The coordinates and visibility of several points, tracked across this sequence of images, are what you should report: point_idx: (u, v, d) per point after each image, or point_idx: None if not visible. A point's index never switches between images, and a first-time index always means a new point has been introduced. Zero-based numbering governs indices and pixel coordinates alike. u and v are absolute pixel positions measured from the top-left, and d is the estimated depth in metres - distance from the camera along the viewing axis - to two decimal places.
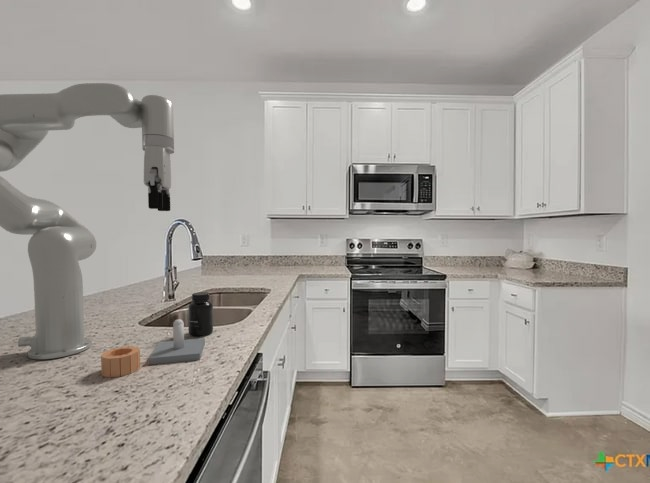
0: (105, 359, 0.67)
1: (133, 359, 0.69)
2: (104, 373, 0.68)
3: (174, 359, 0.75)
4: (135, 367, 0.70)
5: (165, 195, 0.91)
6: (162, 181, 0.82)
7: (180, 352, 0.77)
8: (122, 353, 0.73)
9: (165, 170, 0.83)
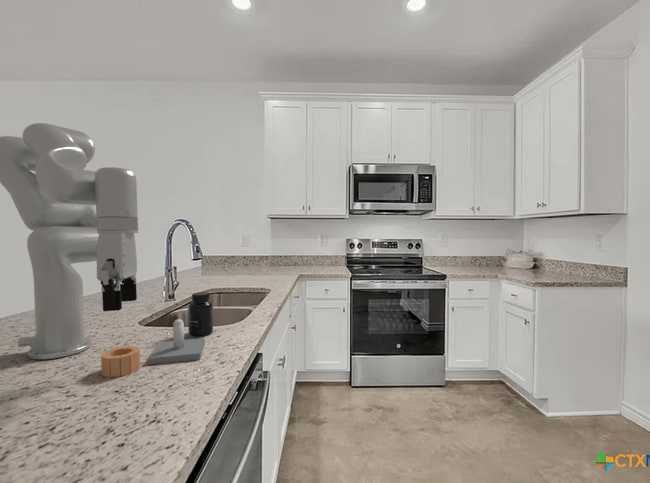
0: (105, 359, 0.67)
1: (133, 359, 0.69)
2: (104, 373, 0.68)
3: (174, 359, 0.75)
4: (135, 367, 0.70)
5: (130, 282, 0.74)
6: (120, 275, 0.66)
7: (180, 352, 0.77)
8: (122, 353, 0.73)
9: (124, 260, 0.67)
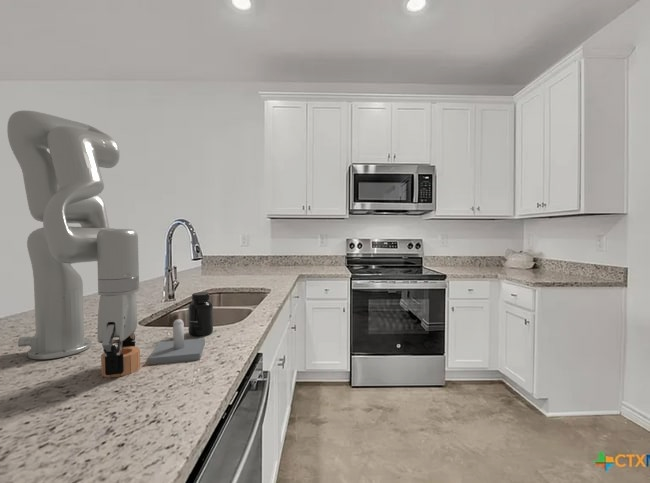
0: None
1: (133, 359, 0.69)
2: (104, 373, 0.68)
3: (174, 359, 0.75)
4: (135, 367, 0.70)
5: (128, 340, 0.74)
6: (121, 338, 0.66)
7: (180, 352, 0.77)
8: (122, 353, 0.73)
9: (125, 321, 0.67)
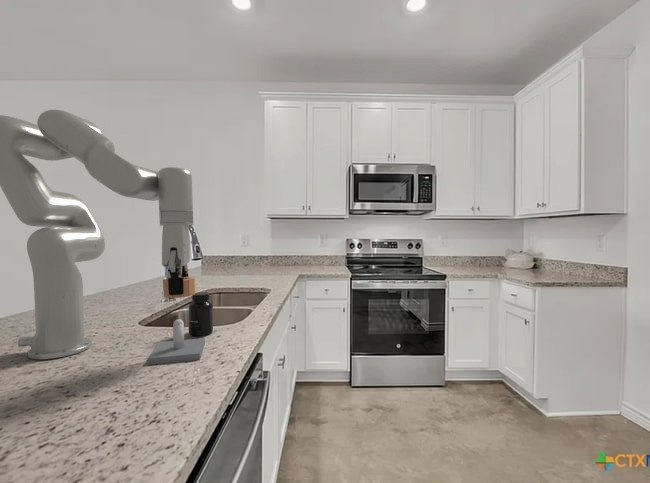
0: None
1: (190, 284, 0.78)
2: (167, 295, 0.76)
3: (174, 359, 0.75)
4: (192, 291, 0.79)
5: (183, 272, 0.83)
6: (182, 262, 0.75)
7: (180, 352, 0.77)
8: None
9: (184, 248, 0.76)
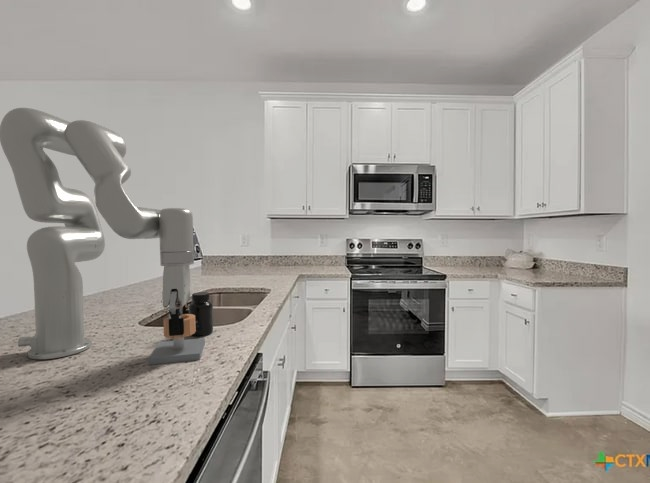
0: (168, 322, 0.77)
1: (191, 323, 0.79)
2: (167, 335, 0.77)
3: (174, 359, 0.75)
4: (192, 330, 0.79)
5: (183, 309, 0.83)
6: (182, 303, 0.75)
7: (180, 352, 0.77)
8: None
9: (185, 289, 0.76)
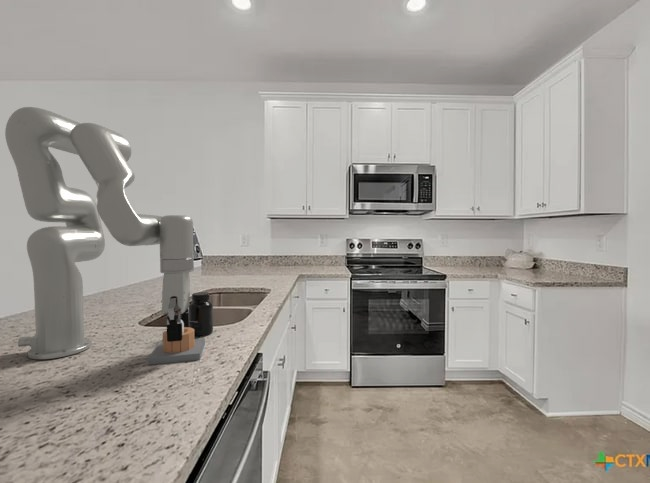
0: None
1: (190, 338, 0.79)
2: (166, 349, 0.77)
3: (174, 359, 0.75)
4: (191, 345, 0.79)
5: (183, 312, 0.84)
6: (182, 310, 0.76)
7: (180, 352, 0.77)
8: None
9: (184, 296, 0.77)
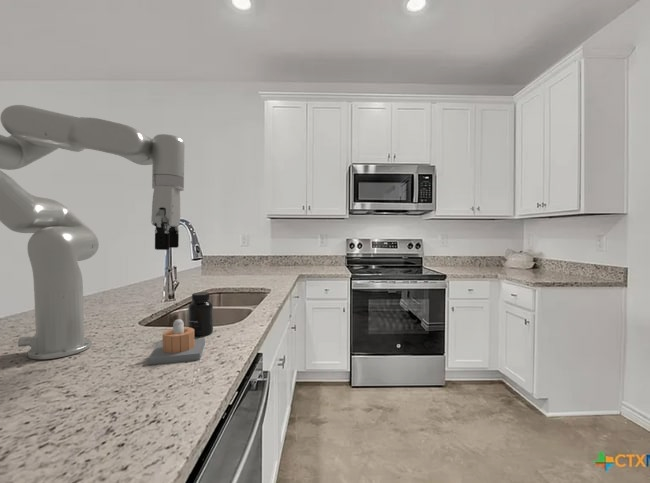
0: (167, 337, 0.77)
1: (190, 338, 0.79)
2: (166, 349, 0.77)
3: (174, 359, 0.75)
4: (191, 345, 0.79)
5: (174, 232, 0.90)
6: (169, 222, 0.81)
7: (180, 352, 0.77)
8: None
9: (173, 210, 0.82)
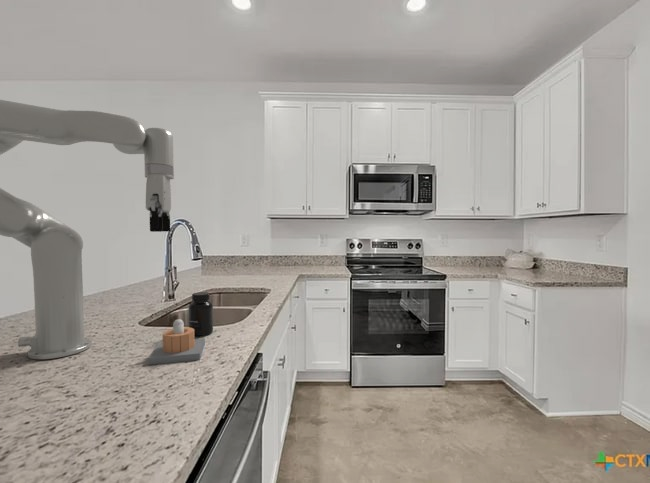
0: (167, 337, 0.77)
1: (190, 338, 0.79)
2: (166, 349, 0.77)
3: (174, 359, 0.75)
4: (191, 345, 0.79)
5: (165, 217, 0.99)
6: (162, 206, 0.90)
7: (180, 352, 0.77)
8: None
9: (165, 196, 0.91)
